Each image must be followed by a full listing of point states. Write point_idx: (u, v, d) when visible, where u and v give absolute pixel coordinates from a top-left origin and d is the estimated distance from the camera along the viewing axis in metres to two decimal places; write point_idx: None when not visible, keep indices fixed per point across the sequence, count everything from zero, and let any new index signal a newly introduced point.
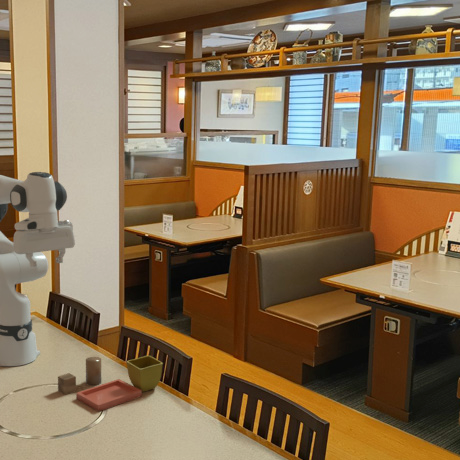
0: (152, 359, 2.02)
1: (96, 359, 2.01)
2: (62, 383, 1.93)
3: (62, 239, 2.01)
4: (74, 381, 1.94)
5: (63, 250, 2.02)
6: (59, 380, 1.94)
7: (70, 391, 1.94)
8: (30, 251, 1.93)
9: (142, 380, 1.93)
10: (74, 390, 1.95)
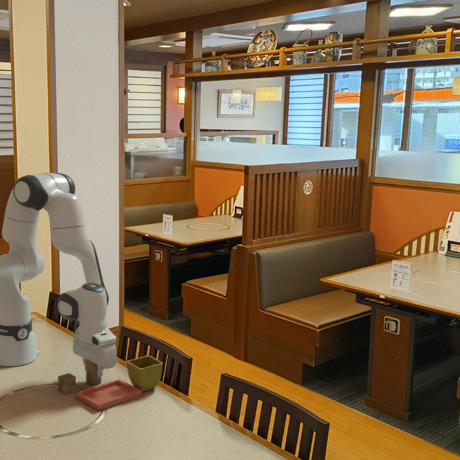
0: (152, 359, 2.02)
1: None
2: (62, 383, 1.93)
3: None
4: (74, 381, 1.94)
5: None
6: (59, 380, 1.94)
7: (70, 391, 1.94)
8: None
9: (142, 380, 1.93)
10: (74, 390, 1.95)
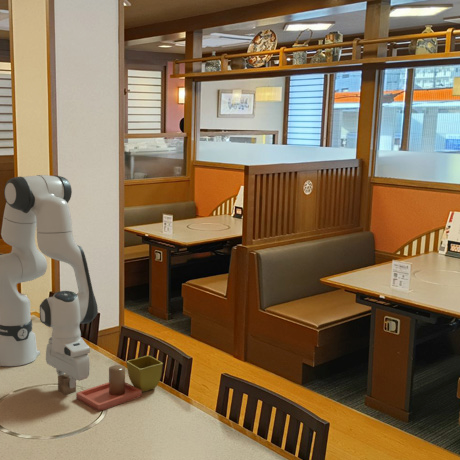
0: (152, 359, 2.02)
1: (119, 368, 1.92)
2: (62, 383, 1.93)
3: None
4: None
5: None
6: (59, 380, 1.94)
7: (70, 391, 1.94)
8: None
9: (142, 380, 1.93)
10: (74, 390, 1.95)
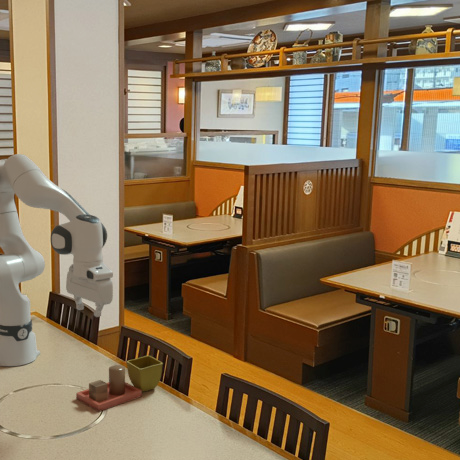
0: (152, 359, 2.02)
1: (119, 368, 1.92)
2: (93, 390, 1.86)
3: None
4: (105, 388, 1.88)
5: None
6: (90, 387, 1.87)
7: (102, 399, 1.87)
8: None
9: (142, 380, 1.93)
10: (106, 397, 1.88)
